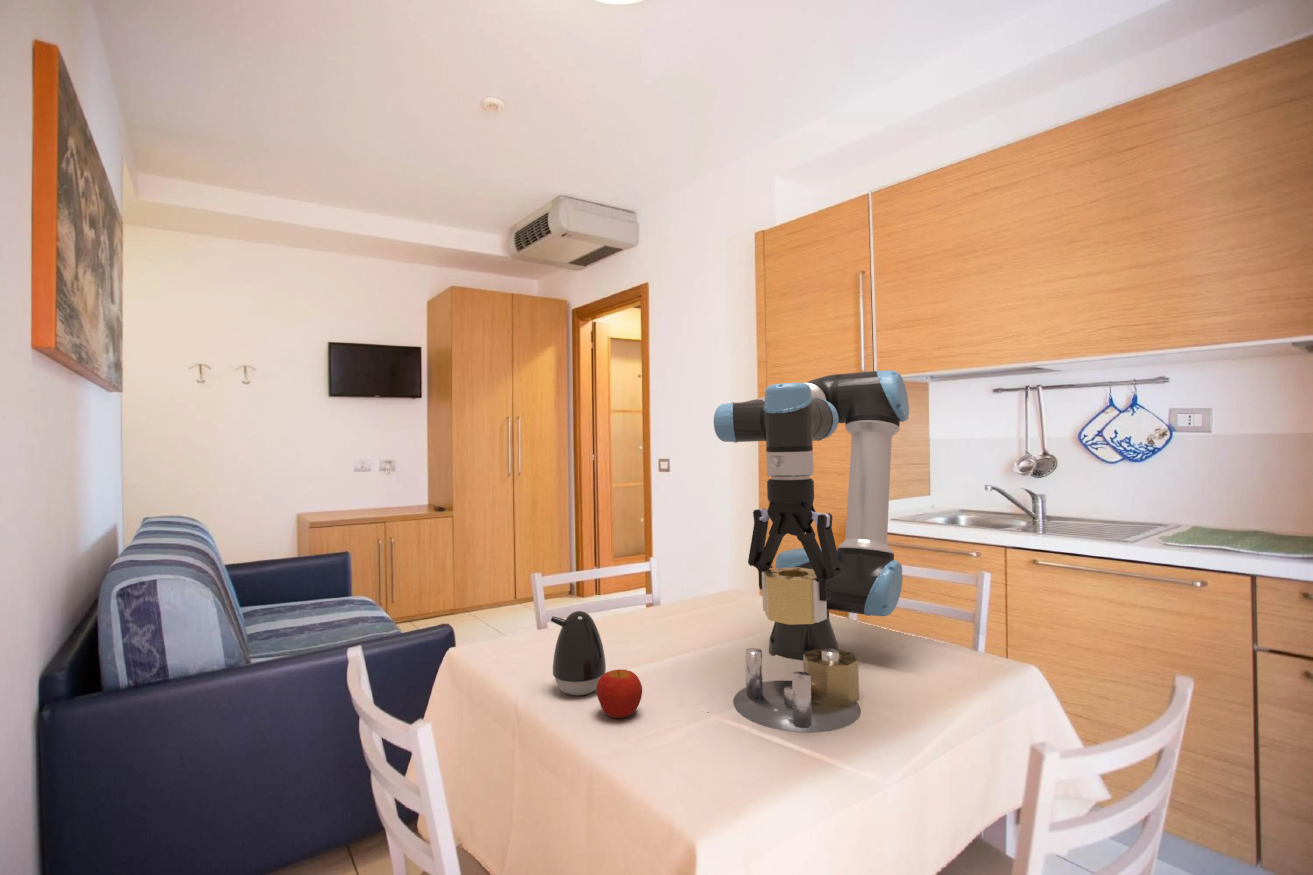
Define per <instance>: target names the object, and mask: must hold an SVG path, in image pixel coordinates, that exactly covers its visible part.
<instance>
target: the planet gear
mask: <svg viewBox="0 0 1313 875" xmlns="http://www.w3.org/2000/svg"><path fill="white" fill-rule="evenodd" d="M815 579H817V577H816V574H815V572H814V570H813V569H807V568H800V567H792V568H776V567H775V568H770V569H769V570H768V571H765V572H764V591H765V611H764V613H765V616H766V617H767V619H768V620H769V621H770V622H774V623H775V622H779V623H784V624H788V625H794V624H814V623H816V622H814V613H813V580H815Z"/></svg>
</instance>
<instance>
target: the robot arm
mask: <svg viewBox="0 0 1313 875" xmlns="http://www.w3.org/2000/svg"><path fill="white" fill-rule="evenodd" d="M764 392H765V393H764V396H763V397H759V398H755V399H752V400H747V401H742V402H734V401H733V402H729V403H721V404H720V405H718V407H717V408H716V409H715V411H714V414H713V429H714V433H715V435H716V437H717V438H718V439H719V440H720V441H721V442H725V443H726V442H727V443H728V442H729V443H737V444H738V443H745V442H748V443H749V442H765V443H766V444H765V445H766V449H765V451H766V474H767V476H768V477H770V478H769V479H768V480H767V481H766V488H767V489H766V490H767V491H766V492H767V493H766V494H767V500H768V501H769V505H768V508H767V509H766V508H758V509H754V510H752V511H753V512H752V516H753V528H752V536H751V541H750V548H749V554H748V559H747V563H748V566H750V567H754V568H756V569H757V573H758V588H759V590H761V591H762V592H761V594H762V595H761V596H762V612H765V591H764V572H765V571H768V570H771V569H773V567H774V566H773V562H774V560H775V568H792V567H800V568H807V569H813V570H814V572H815V574H816V577H817V579H815V580H813V613H814V622H816V623H814V624H794V625H788V624H784V623H779V622H775V621H774V624H773V627H772V630H771V633H770V635H769V636H770V637H769V641H768V651H769V653H770V654H771V655H772V656H773V657H774V656H778V657H782V658H786V659H791V660H798V661H803V654H804V653H806V652H809V651H811V650H813V649H836V650H839V643H838V640H837V637H836V635H835V632H834V631H835V630H834V628H833V625H832V623H831V619H830V611H836V612H843V613H849V614H850V613H851V614H858V615H865V616H867V617H870V616H875V617H888V616H890V615H892V613H893V612H894V611H895V610H896V607H897V605H898V603H899V601H900V597H901V592H902V586H903V577H904V576H903V567H902V566H903V565H902V564H901V562H899V561H898V560H895V553H894V551H893V550H892V549H891V547H890V546H889V545H888V526H889V506H890V503H889V502H890V486H891V484H890V483H891V460H892V441H893V439H892V438H893V437H894V436H895V435H896V434H897V433H899V431H900V423H903V422H905V421H908V419H909V415H910V406H909V398H908V392H907V389H906V385H905V381H904V379H903V377H902V375H901V374H900V373H899V372H898V371H896V370H890V369H889V370H880V369H878V370H873V371H872V370H871V371H870V370H869V371H862V372H861V371H859V372H850V373H849V372H848V373H836V374H829V375H825V376H820V377H819V378H815V379H811V380H809V381H805V382H783V383H773V384H770V385H767V387H766V388H765V391H764ZM839 424H845V426H844V428H845V430H846V431H847V432H848V433H849V434H850V436H851V439H850V440H851V441H850V442H851V443H850V444H851V445H850V457H849V473H848V474H849V475H848V492H847V494H848V495H847V508H846V524H845V525H846V526H845V539H844V541H843V542H842V543H841V544H839V545H838V546H837V545H836V540H835V535H834V532H833V528H832V527H833V515H832V514H831V512H827V513H822V512H821V513H820V512H818V511H817V512H816V509H815V508H814V500H815V482H814V480H813V478H811V476H813V475H814V474H815V471H814V451H813V450H814V449H813V448H814V447H813V441H817V442H819V441H823V440H825V439H828V438H829V437H830V436H832V434H834V433H835V431H836V430H837V428H838V425H839ZM769 520H771V522H772V523H771V527H770V529H769V532H768V528H769ZM813 522H814V526H816V533H817V537H818V540H819V543H818V541H817V539H816V533H815V531H814V528H813V526H812V523H813ZM767 533H768V537H767ZM788 534H789V535H791V536H796V538H797V540H798V541H799V542H801V545H802V547H801V548H793V549H788V550H783V551H781V552H779V553H778V554H777V552H778V550H779V548H780V545H781V543H782V541H783V538H784V537H785V536H786V535H788ZM766 539H767V540H766Z"/></svg>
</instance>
